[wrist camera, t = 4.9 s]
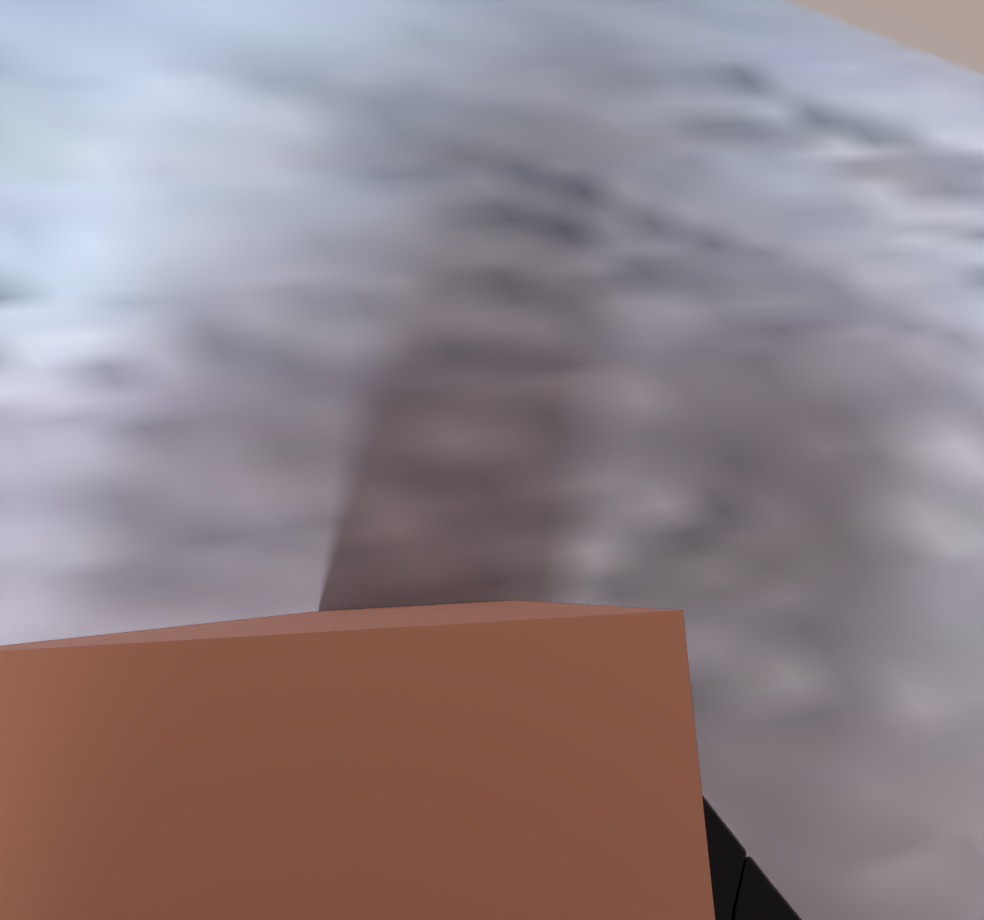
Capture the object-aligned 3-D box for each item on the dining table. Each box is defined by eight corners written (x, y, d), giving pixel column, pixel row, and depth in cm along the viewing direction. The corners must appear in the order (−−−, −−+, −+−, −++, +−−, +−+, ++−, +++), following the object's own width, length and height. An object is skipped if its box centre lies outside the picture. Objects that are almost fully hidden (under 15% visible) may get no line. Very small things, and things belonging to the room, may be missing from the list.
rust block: (523, 805, 16) (783, 1565, 3) (318, 821, 15) (-212, 1721, 3) (511, 600, 16) (683, 609, 4) (317, 611, 16) (-106, 656, 4)
